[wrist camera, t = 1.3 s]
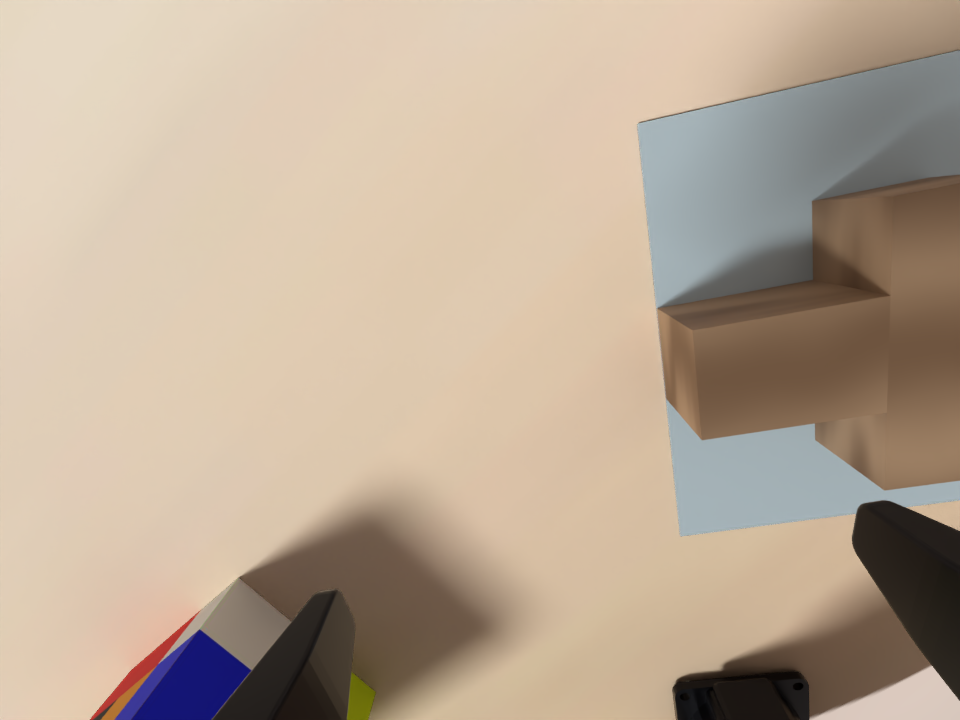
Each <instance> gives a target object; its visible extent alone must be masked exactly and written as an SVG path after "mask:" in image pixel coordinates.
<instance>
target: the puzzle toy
mask: <svg viewBox="0 0 960 720" xmlns="http://www.w3.org/2000/svg"><path fill="white" fill-rule="evenodd" d="M290 623H291V621H290V620H289V619H287V618H286V617H285V616H284V615H283V614H282V613H280V612H279V611H278V610H277V609H276V608H274V607H273V606H272V605H271V604H270V603H268V602H267V601H266V600H265V599H264V598H262V597H261V596H260V595H259V594H258V593H256V592H255V591H254V590H253V589H252V588H250V587H249V586H248V585H247V584H246V583H244V582H243V581H242V580H241V579H240V578H237V579H236V580H235V581H234V582H233V583H232V584H230V585H229V586H228V587H227V588H226V589H225V590H224V591H222V592H221V593H220V594H219V595H218V596H217V597H215V598H214V599H213V600H212V601H211V602H210V603H208V604H207V605H206V606H205V607H204V608H203V609H202V610H200V611H199V612H198V613H197V614H196V615H195V616H193V617H192V618H191V619H190V620H189V621H188V622H187V623H185V624H184V625H183V626H182V627H181V628H180V629H178V630H177V631H176V632H175V633H174V634H173V635H171V636H170V637H169V638H168V639H167V640H166V641H165V642H163V643H162V644H161V645H160V646H159V647H158V648H156V649H155V650H154V651H153V652H152V653H151V654H150V655H148V656H147V657H146V658H145V659H144V660H143V661H141V662H140V663H139V664H138V665H137V666H136V667H134V668H133V669H132V670H131V671H130V672H129V673H128V675H127V676H126V677H125V678H124V679H123V681H122V682H121V683H120V684H119V685H118V687H117V688H116V689H115V690H114V691H113V693H112V694H111V695H110V696H109V697H108V699H107V700H106V701H105V702H104V703H103V704H102V706H101V707H100V708H99V709H98V710H97V712H96V713H95V714H94V715H93V716H92V718H91V719H90V720H211V719H212V718H213V717H214V716H215V715H216V713H217V712H218V711H219V710H220V708H221V707H222V706H223V705H224V703H225V702H226V701H227V700H228V699H229V697H230V696H231V695H232V694H233V692H234V691H235V690H236V689H237V688H238V686H239V685H240V684H241V683H242V681H243V680H244V679H245V678H246V677H247V675H248V674H249V673H250V672H251V670H252V669H253V668H254V667H255V666H256V664H257V663H258V662H259V661H260V659H261V658H262V657H263V656H264V655H265V653H266V652H267V651H268V650H269V648H270V647H271V646H272V645H273V643H274V642H275V641H276V640H277V639H278V637H279V636H280V635H281V634H282V632H283V631H284V630H285V629H286V628H287V626H288V625H289V624H290ZM375 693H376V692H375V691H374V690H372V689H371V688H370V687H369V686H368V685H366V684H365V683H364V682H363V681H362V680H360V679H359V678H358V677H357V676H356V675H355V674H353V673H352V672H351V682H350V693H349V704H348V714H347V720H368V718H369V715H370V711H371V708H372V704H373V701H374V697H375Z"/></svg>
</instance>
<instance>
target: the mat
mask: <svg viewBox="0 0 960 720" xmlns="http://www.w3.org/2000/svg"><path fill="white" fill-rule="evenodd" d="M637 127H638V136H639V146H640V155H641V165H642V174H643V184H644V194H645V203H646V213H647V222H648V232H649V242H650V251H651V261H652V270H653V280H654V290H655V299H656V309H657V308H662V307H667V306H673V305H678V304H684V303H689V302H695V301H700V300H705V299H711V298H716V297H722V296H727V295H733V294H738V293H744V292H749V291H755V290H760V289H766V288H771V287H776V286H782V285H787V284H793V283H798V282H804V281H809V280H813V241H812V201H814V200H819V199H824V198H829V197H834V196H839V195H844V194H849V193H854V192H859V191H864V190H869V189H874V188H879V187H884V186H889V185H894V184H899V183H904V182H909V181H914V180H919V179H923V178H929V177H940V176H950V175H960V50H958V51H953V52H949V53H945V54H940V55H936V56H932V57H927V58H923V59H918V60H914V61H910V62H905V63H901V64H897V65H892V66H888V67H883V68H879V69H875V70H870V71H866V72H862V73H857V74H853V75H848V76H844V77H840V78H835V79H831V80H827V81H822V82H818V83H813V84H809V85H805V86H800V87H796V88H792V89H787V90H783V91H778V92H774V93H770V94H765V95H761V96H756V97H752V98H748V99H743V100H739V101H735V102H730V103H726V104H721V105H717V106H713V107H708V108H704V109H700V110H695V111H691V112H686V113H682V114H678V115H673V116H669V117H665V118H660V119H656V120H651V121H647V122H643V123H638V124H637ZM657 318H658V314H657ZM658 328H659V324H658ZM659 338H660V334H659ZM660 347H661V343H660ZM661 357H662V353H661ZM662 366H663V363H662ZM663 376H664V372H663ZM664 386H665V382H664ZM665 395H666V392H665ZM666 405H667V414H668V424H669V434H670V443H671V453H672V462H673V472H674V482H675V491H676V501H677V510H678V520H679V530H680V536H688V535H696V534H703V533H711V532H719V531H726V530H734V529H742V528H750V527H757V526H765V525H773V524H780V523H788V522H796V521H804V520H811V519H819V518H827V517H834V516H842V515H850V514H856V512H857V508H858V507H859V506H860V505H861V504H863V503H868V502H874V501H881V500H887V501H891V502H894V503H896V504H899V505H901V506H903V507H912V506H919V505H927V504H935V503H942V502H950V501H958V500H960V481H954V482H946V483H938V484H931V485H923V486H916V487H908V488H901V489H893V490H886V491H884V490H883V489H881V488H880V487H879V486H877V485H876V484H875V483H873V482H872V481H871V480H869V479H868V478H866V477H865V476H864V475H862V474H861V473H860V472H858V471H857V470H856V469H854V468H853V467H851V466H850V465H849V464H847V463H846V462H845V461H843V460H842V459H840V458H839V457H838V456H836V455H835V454H834V453H832V452H831V451H830V450H828V449H827V448H825V447H824V446H823V445H821V444H820V443H819V442H817V441H816V440H815V424H808V425H802V426H795V427H788V428H781V429H775V430H768V431H761V432H755V433H748V434H741V435H735V436H728V437H721V438H715V439H708V440H701V439H700V438H699V437H698V435H697V434H696V433H695V432H694V431H693V430H692V428H691V427H690V426H689V425H688V424H687V423H686V421H685V420H684V419H683V418H682V417H681V416H680V414H679V413H678V412H677V411H676V410H675V408H674V407H673V406H672V405H671V404H670V403H669V401H668V400H667V399H666Z"/></svg>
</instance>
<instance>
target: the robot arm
mask: <svg viewBox="0 0 960 720" xmlns="http://www.w3.org/2000/svg"><path fill="white" fill-rule="evenodd" d="M852 544H853V547H854V550H855V552H856V554H857V556H858V557H859V559H860V560H861V562H862V563H863V565H864V566H865V568H866V570H867V571H868V573H869V574H870V576H871V577H872V579H873V580H874V582H875V583H876V585H877V586H878V588H879V589H880V591H881V592H882V594H883V596H884V597H885V599H886V600H887V602H888V603H889V605H890V606H891V608H892V609H893V611H894V612H895V614H896V615H897V617H898V618H899V620H900V621H901V623H902V625H903V626H904V628H905V629H906V631H907V632H908V634H909V635H910V636H911V638H912V639H913V641H914V642H915V644H916V645H917V646H918V648H919V649H920V650H921V652H922V653H923V654H924V656H925V657H926V658H927V660H928V661H929V662H930V664H931V665H932V666H933V667H934V669H935V670H936V671H937V672H938V673H939V675H940V676H941V678H942V679H943V680H944V681H945V683H946V684H947V685H948V686H949V688H950V689H951V690H952V692H953V693H954V694H955V695H956V696H957V698H958V699H959V700H960V531H958V530H956V529H953V528H951V527H949V526H947V525H944V524H942V523H940V522H938V521H935V520H933V519H931V518H928V517H926V516H924V515H922V514H919V513H917V512H915V511H912V510H910V509H908V508H906V507H903V506H901V505H899V504H896V503H894V502H891V501H887V500H881V501H874V502H868V503H863V504H861V505H860V506H859V507H858V508H857V512H856V518H855V523H854V529H853V535H852ZM354 638H355V622H354V618H353V615H352V613H351V611H350V609H349V607H348V605H347V602H346V600H345V598H344V596H343V594H342V592H341V591H340V590H339V589H330V590H323V591H319V592H316V593H315V594H314V595H313V596H312V597H311V598H310V599H309V601H308V602H307V603H306V604H305V606H304V607H303V608H302V609H301V610H300V612H299V613H298V614H297V615H296V617H295V618H294V619H293V620H292V621H291V623H290V624H289V625H288V626H287V628H286V629H285V630H284V631H283V632H282V634H281V635H280V636H279V637H278V639H277V640H276V641H275V642H274V643H273V645H272V646H271V647H270V648H269V650H268V651H267V652H266V653H265V655H264V656H263V657H262V658H261V659H260V661H259V662H258V663H257V664H256V666H255V667H254V668H253V669H252V670H251V672H250V673H249V674H248V675H247V677H246V678H245V679H244V680H243V681H242V683H241V684H240V685H239V686H238V688H237V689H236V690H235V691H234V692H233V694H232V695H231V696H230V697H229V699H228V700H227V701H226V702H225V703H224V705H223V706H222V707H221V708H220V710H219V711H218V712H217V713H216V715H215V716H214V717H213V718H212V719H211V720H347V714H348V704H349V693H350V682H351V671H352V660H353V649H354ZM672 691H673V700H674V708H675V716H676V720H809V685H808V682H807V681H806V679H805V678H804V676H803V675H802V674H801V673H799V672H794V671H793V672H782V673H772V674H761V675H751V676H740V677H730V678H719V679H709V680H699V681H688V682H680V683H677V684H675V685H674V687H673V690H672Z"/></svg>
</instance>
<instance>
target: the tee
mask: <svg viewBox="0 0 960 720" xmlns="http://www.w3.org/2000/svg"><path fill="white" fill-rule="evenodd" d="M812 241H813V280H809V281H804V282H798V283H793V284H787V285H782V286H776V287H771V288H766V289H760V290H755V291H749V292H744V293H738V294H733V295H727V296H722V297H716V298H711V299H705V300H700V301H695V302H689V303H684V304H678V305H673V306H667V307H662V308H657V314H658V324H659V334H660V343H661V353H662V363H663V372H664V382H665V392H666V399H667V400H668V401H669V403H670V404H671V405H672V406H673V407H674V408H675V410H676V411H677V412H678V413H679V414H680V416H681V417H682V418H683V419H684V420H685V421H686V423H687V424H688V425H689V426H690V427H691V428H692V430H693V431H694V432H695V433H696V434H697V435H698V437H699V438H700V439H701V440H708V439H715V438H721V437H728V436H735V435H741V434H748V433H755V432H761V431H768V430H775V429H781V428H788V427H795V426H802V425H808V424H815V440H816V441H817V442H819V443H820V444H821V445H823V446H824V447H825V448H827V449H828V450H830V451H831V452H832V453H834V454H835V455H836V456H838V457H839V458H840V459H842V460H843V461H845V462H846V463H847V464H849V465H850V466H851V467H853V468H854V469H856V470H857V471H858V472H860V473H861V474H862V475H864V476H865V477H866V478H868V479H869V480H871V481H872V482H873V483H875V484H876V485H877V486H879V487H880V488H881V489H883V490H884V491H886V490H893V489H901V488H908V487H916V486H923V485H931V484H938V483H946V482H954V481H960V175H950V176H940V177H929V178H923V179H919V180H914V181H909V182H904V183H899V184H894V185H889V186H884V187H879V188H874V189H869V190H864V191H859V192H854V193H849V194H844V195H839V196H834V197H829V198H824V199H819V200H814V201H812Z"/></svg>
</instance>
